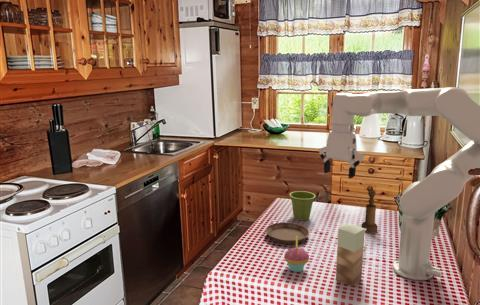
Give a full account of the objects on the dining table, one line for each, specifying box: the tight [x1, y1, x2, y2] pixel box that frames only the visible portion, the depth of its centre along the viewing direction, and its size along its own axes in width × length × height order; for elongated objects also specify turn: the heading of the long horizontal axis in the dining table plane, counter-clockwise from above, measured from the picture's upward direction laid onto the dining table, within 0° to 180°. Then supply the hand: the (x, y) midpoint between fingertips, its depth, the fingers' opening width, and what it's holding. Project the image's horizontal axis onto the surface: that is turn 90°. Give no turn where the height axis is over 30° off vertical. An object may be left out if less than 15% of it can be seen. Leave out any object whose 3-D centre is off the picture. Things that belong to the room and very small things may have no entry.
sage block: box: [337, 223, 366, 252], centre depth 125 cm, size 6×6×6 cm
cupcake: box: [283, 236, 310, 273], centre depth 134 cm, size 9×8×12 cm
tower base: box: [335, 262, 363, 287], centre depth 128 cm, size 6×6×6 cm
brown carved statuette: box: [361, 189, 379, 234], centre depth 165 cm, size 7×6×18 cm
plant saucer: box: [265, 221, 310, 245], centre depth 161 cm, size 18×18×3 cm
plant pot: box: [289, 190, 316, 221], centre depth 180 cm, size 12×12×11 cm
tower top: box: [336, 245, 365, 269], centre depth 127 cm, size 6×6×6 cm
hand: (338, 174), depth 141 cm, fingers open, 9 cm apart
